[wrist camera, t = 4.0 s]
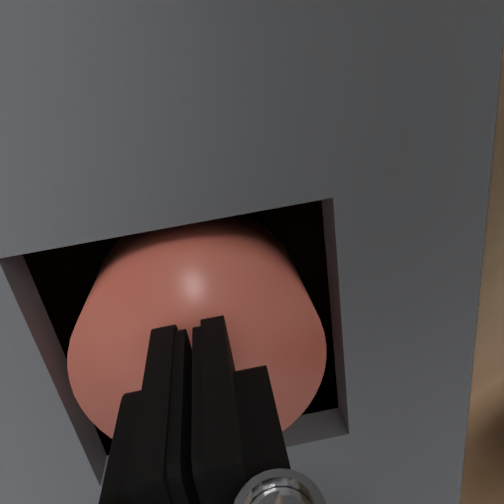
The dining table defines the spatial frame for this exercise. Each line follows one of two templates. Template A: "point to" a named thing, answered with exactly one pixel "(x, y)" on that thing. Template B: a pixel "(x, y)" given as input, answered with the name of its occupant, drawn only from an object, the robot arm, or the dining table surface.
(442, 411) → the box
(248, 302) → the call button
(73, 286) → the dining table surface
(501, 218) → the dining table surface
